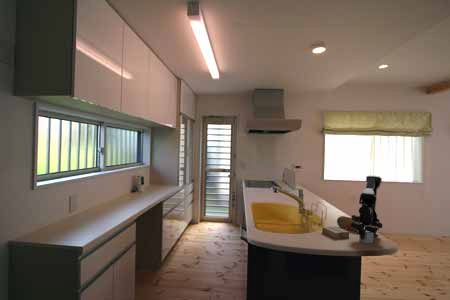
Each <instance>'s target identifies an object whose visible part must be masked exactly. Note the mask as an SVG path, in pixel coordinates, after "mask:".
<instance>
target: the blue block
mask: <svg viewBox="0 0 450 300" xmlns="http://www.w3.org/2000/svg"><path fill="white" fill-rule="evenodd" d="M359 241H360V242H363V243H364V244H373V243H374V236H373V232H370V231H367V230H366V232H365V235H364V239H363V240H361V238H360V237H359Z"/></svg>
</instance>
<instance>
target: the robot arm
mask: <svg viewBox="0 0 450 300" xmlns="http://www.w3.org/2000/svg"><path fill="white" fill-rule="evenodd" d="M365 178H366V179H365V182H366V185H365V189H363V190H362V192H361V193H360V195H359V202H358V204H359V205H361V206H360V207H359V209H358V213H359V215H358V216H357V215H356V214H353V215H351V218H352V220H354V222H352V223H351V227H353V228H356V229H357V230H358V231H357V232H358V234H359V238H361V240H363V239H364V235H365V232H366V230H367V231H370V232H373V237H378V236H379V234H377V231H379V230H380V229H383V224H382V222H381V221H380V219H379V217H378V214H377V212H376V207H377V206H376V205H377V197H378V196H377V195H378V194H377V193H378V189H379V188H380V187H381V184H382V180H383V179H382V177H380V176H378V175H377V176H376V175H370V174H369V175H367V176H366V177H365ZM358 222H360V223H358Z"/></svg>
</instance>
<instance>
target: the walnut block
mask: <svg viewBox="0 0 450 300" xmlns="http://www.w3.org/2000/svg"><path fill="white" fill-rule="evenodd" d="M321 231H322V232H321V233H322V234H323V235H326V236H327V237H330V238H332V239H334V240H338V239H339V240H340V239H349V238H350V231H349V230H347V229H343V228H341V227H339V226H337V225H335V226H324V227H323V226H322V230H321Z"/></svg>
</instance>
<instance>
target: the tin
mask: <svg viewBox="0 0 450 300" xmlns="http://www.w3.org/2000/svg"><path fill="white" fill-rule="evenodd" d="M352 222H354V220H352V217H349V216H345V215H343V216H339V217H337V219H336V223H337V225H338V226H337V227H339V228H341V229H344V230H347V231H351V232H352V231H353V232H358V230H357V229H356V228H353V227H351V223H352ZM358 223H360V222H358Z"/></svg>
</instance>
